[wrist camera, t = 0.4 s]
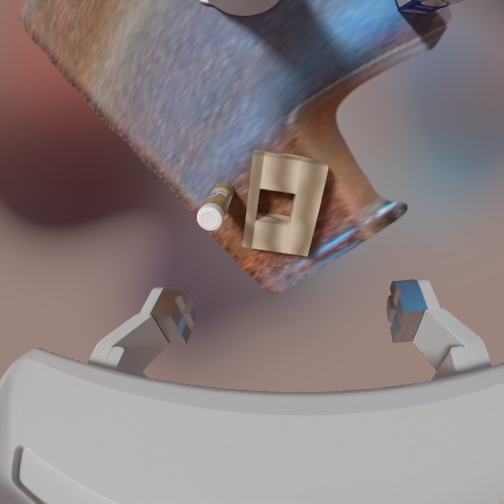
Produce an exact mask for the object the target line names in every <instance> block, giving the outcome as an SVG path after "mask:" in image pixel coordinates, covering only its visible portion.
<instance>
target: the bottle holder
mask: <svg viewBox="0 0 504 504" xmlns="http://www.w3.org/2000/svg"><path fill="white" fill-rule="evenodd" d="M328 168H329V166H328V165H327V163H326V161H324V160H319V159H314V158H308V157H303V156H297V155H291V154H285V153H278V152H271V151H264V150H257V149H255V151H254V153H253V160H252V168H251V177H250V185H249V193H248V202H247V211H246V219H245V228H244V237H243V246H242V247H247V248H253V249H260V250H267V251H274V252H280V253H287V254H294V255H301V256H308V252H309V248H310V245H311V241H312V237H313V233H314V229H315V225H316V220H317V216H318V212H319V208H320V204H321V199H322V195H323V191H324V186H325V182H326V177H327V172H328ZM260 189H267V190H274V191H281V192H287V193H293V194H294V196H293V201H292V206H291V211H290V217H289V216H283V215H276V214H270V213H263V212H257V209H258V202H259V194H260Z"/></svg>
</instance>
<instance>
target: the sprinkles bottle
mask: <svg viewBox="0 0 504 504" xmlns="http://www.w3.org/2000/svg"><path fill="white" fill-rule="evenodd" d="M233 196H234V189H233V187H232V186H231V185H230V184H228V183H226V182H220V183H218V184H217V185H216V186H215V187H214V189H213V191H212V192H211V194H210V195H209V197H208V199H207V201H206V202H205V204H204V205H203V206H202V207H201V209H200V210H199V212H198V214H197V221H198V223H199V225H200V226H201V227H203V228H204V229H206V230H209V231H213V230H216V229H218V228H219V227H220V226H221V225H222V223H223V221H224V216H225V214H226V212H227V210H228V207H229V205H230V203H231V200H232V198H233Z"/></svg>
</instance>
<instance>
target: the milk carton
mask: <svg viewBox="0 0 504 504" xmlns="http://www.w3.org/2000/svg"><path fill="white" fill-rule="evenodd" d="M461 1H465V0H395V2H396V5H397V8H398V11H400V12H412V13H421V14H427V13H430V12H432V11H435V10H438V9H440V8H443V7H446V6H449V5H452V4H455V3H458V2H461Z"/></svg>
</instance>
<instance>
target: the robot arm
mask: <svg viewBox="0 0 504 504" xmlns="http://www.w3.org/2000/svg"><path fill="white" fill-rule="evenodd" d="M198 1H199V2H201V3H204V4H210V5H213V6H215V7H217V8H218V9H220V10H222V11H223V12H226V13H229V14H232V15H238V16H249V15H255V14H259V13H262V12H265V11H267V10H269V9H270V8H272V7H273V6H274V5H276V4H277V3H278V1H279V0H198ZM390 291H391V295H390V296H389V297H388V301H387V316H388V320H389V321H390V322H391V323H392V325H391V328H390V329H391V335H392V340H393V343H397V342H409V341H413V343H414V344H415V346H416V347H417V348H418V349H419V350H420V351H421V353H422V354H423V355H424V356H425V357H426V359H427V360H428V361H429V362H430V363H431V365H433V367H434V368H435V369H436V371H437V372H436V374H435V375H434V377H433V378H432V380H431V381H426V382H420V383H413V384H407V385H400V386H392V387H384V388H374V389H363V390H349V391H329V392H269V391H249V390H235V389H222V388H213V387H204V386H196V385H189V384H182V383H175V382H169V381H163V380H158V379H152V378H148V377H147V376H146V375H145V374H144V373H143V370H144V369H145V368H146V367H147V366H148V365H149V364H150V363H151V362H152V361H153V360H154V359H155V358H156V357H157V356H158V355H159V354H160V353H161V352H162V351H163V350H164V349H165V348H166V347H167V346H168V345H169V343H176V344H187V342H188V339H189V337H190V334H191V330H190V327H191V326H192V325H193V324H194V323H195V320H196V306H195V304H194V302H193V301H191V300H190V299H189V298H190V293H189V291H188V289H186V288H154V289H153V290H152V292H151V294H150V295H149V297H148V299H147V301H146V303H145V305H144V306H143V308H142V310H141V312H140V314H136V315H135V316H133V317H132V318H131V319H129V320H128V321H127V322H125V323H124V324H123V325H121V326H120V327H118V328H117V329H116V330H114V331H113V332H112V333H110V334H109V335H107V336H106V337H105V338H104V339H102V340H101V341H99V342H98V344H97V346H96V348H95V349H94V351H93V353H92V355H91V357H90V359H89V361H88V363H84V362H81V361H78V360H74V359H71V358H68V357H65V356H62V355H59V354H55V353H53V352H50V351H47V350H45V349H42V348H34V349H33V350H31V351H29V352H27V353H26V354H24V355H23V356H21V357H20V358H19V359H17V360H16V361H15V362H13V364H12V365H11V366H10V367H9V368H8V370H7V371H6V372H5V374H4V375H3V377H2V379H1V380H0V504H504V363H501V364H498V365H494V366H492V365H491V362H490V359H489V356H488V353H487V351H486V348H485V345H484V342H483V340H482V339H481V338H479V337H478V336H477V335H476V334H475V333H473V332H472V331H471V330H470V329H469V328H467V327H466V326H465V325H464V324H463V323H461V322H460V321H459V320H458V319H456V318H455V317H454V316H453V315H452V314H451V313H449V312H448V311H447V310H446V309H444V308H440V305H439V303H438V300H437V298H436V296H435V293H434V291H433V288H432V286H431V284H430V282H429V280H428V279H427V278H424V279H416V280H403V281H392V283H391V286H390Z"/></svg>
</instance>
